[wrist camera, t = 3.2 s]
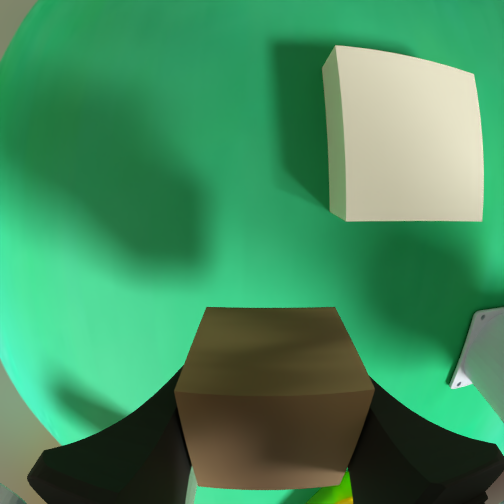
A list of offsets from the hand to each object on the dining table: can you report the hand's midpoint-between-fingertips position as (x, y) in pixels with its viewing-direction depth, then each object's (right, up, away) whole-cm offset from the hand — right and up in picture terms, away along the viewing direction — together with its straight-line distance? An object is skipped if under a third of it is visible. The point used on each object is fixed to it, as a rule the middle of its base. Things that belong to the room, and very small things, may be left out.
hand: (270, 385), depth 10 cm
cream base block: (+8, +12, +6) cm, 16 cm away
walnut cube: (0, 0, +2) cm, 2 cm away
